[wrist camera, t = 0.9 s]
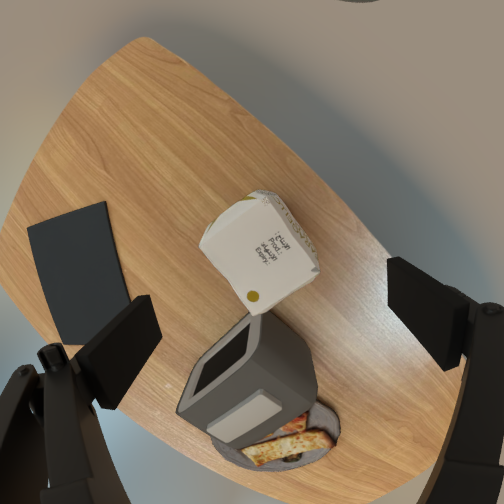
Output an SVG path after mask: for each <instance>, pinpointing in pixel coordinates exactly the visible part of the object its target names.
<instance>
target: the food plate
mask: <svg viewBox="0 0 504 504" xmlns="http://www.w3.org/2000/svg"><path fill="white" fill-rule="evenodd" d="M340 429H341V427H340V421H339V418H338V415H337V414H336V412H335V411H334V410H333V409H331V408H330V407H328V406H326V405H324V404H322V403H321V402H320V401H318V400H317V399H316V402H315V403H314V404H313V406H312V407H311V408H310V409H309V410H307V411H306V412H304V413H303V414H301V415H300V416H298V417H297V418H295V419H294V420H292V421H290V422H289V423H287V424H286V425H284V426H282V427H281V428H279V429H278V430H276V431H274V432H273V433H271V434H269V435H267V436H266V437H264V438H262V439H261V440H259V441H257V442H255V443H253V444H252V445H250V446H247V447H244V448H240V449H235V448H231V447H228V446H226V445H225V444H223V443H221V442H220V441H218V440H216V439H214V438H213V437H211V440H212V445H214V447H215V449H216V450H217V451H218V452H219V453H220V454H221V455H222V456H223V458H225V460H227V461H229V462H232V463H234V464H236V465H237V466H239V467H242V468H245V469H248V470H253V471H260V472H262V471H268V472H274V471H277V472H281V471H286V469H287V470H291V469H294V468H298V467H301V465H303V466H304V465H306V464H309V463H311V462H312V463H313V462H315V461H317V460H319V459H321V458H322V457H323V456H324V455H326V454H327V453H328V452H329V450H331V449H332V448H333V447H334V446H337V445H336V443H337V440H338V437H339V435H340V433H341V431H340Z"/></svg>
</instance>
